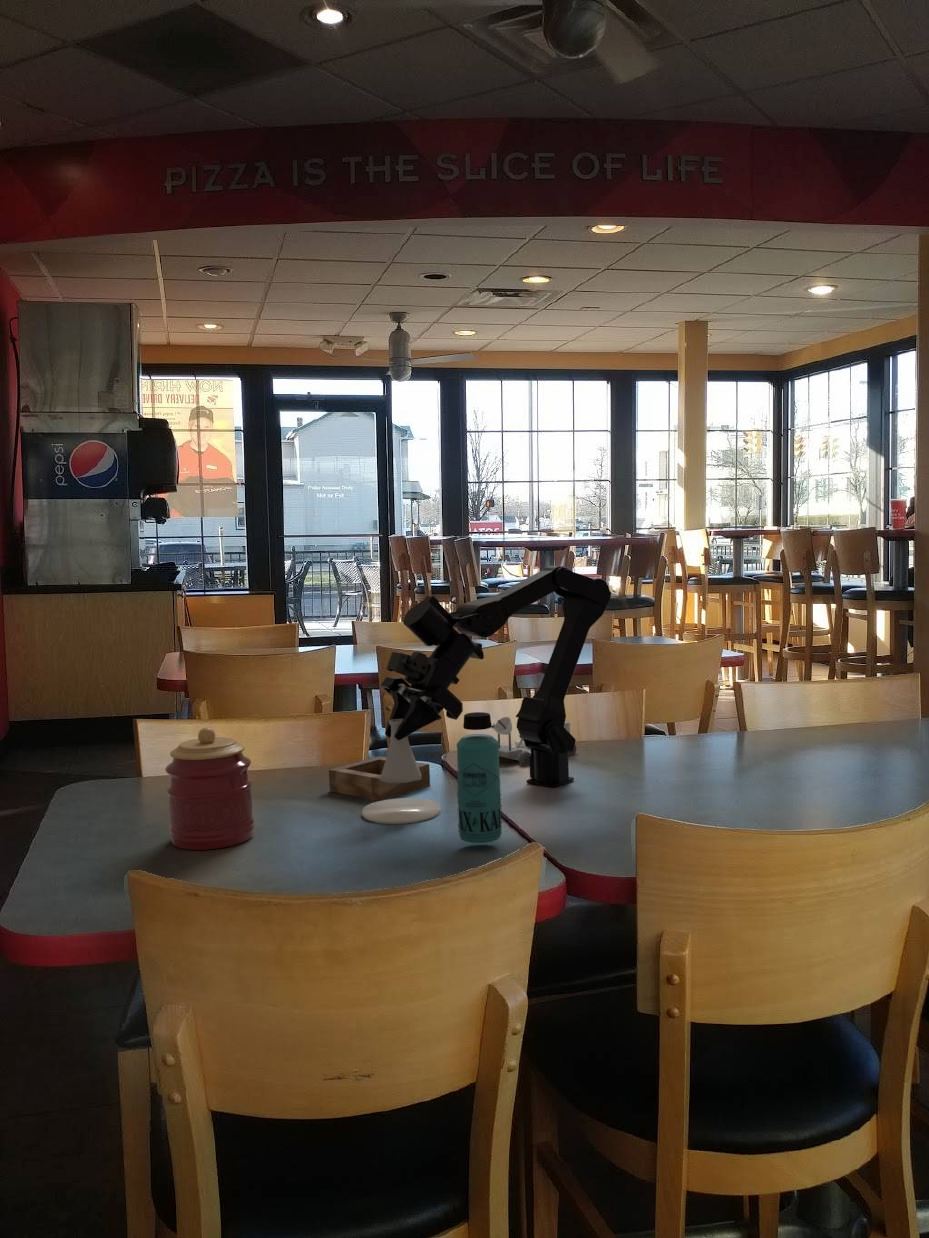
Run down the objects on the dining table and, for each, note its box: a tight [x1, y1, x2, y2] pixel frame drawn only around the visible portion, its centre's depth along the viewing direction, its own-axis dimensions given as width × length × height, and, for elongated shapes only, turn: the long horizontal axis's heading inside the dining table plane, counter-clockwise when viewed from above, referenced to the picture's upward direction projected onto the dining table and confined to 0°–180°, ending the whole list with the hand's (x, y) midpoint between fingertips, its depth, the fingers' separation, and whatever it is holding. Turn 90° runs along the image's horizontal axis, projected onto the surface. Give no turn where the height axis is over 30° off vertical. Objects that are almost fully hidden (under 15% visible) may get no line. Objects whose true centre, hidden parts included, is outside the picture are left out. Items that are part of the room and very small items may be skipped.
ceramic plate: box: [361, 797, 441, 825], centre depth 173 cm, size 13×13×1 cm
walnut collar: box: [328, 755, 431, 802], centre depth 190 cm, size 13×13×4 cm
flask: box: [380, 719, 422, 783], centre depth 172 cm, size 7×7×10 cm
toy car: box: [491, 716, 577, 767], centre depth 212 cm, size 18×10×12 cm
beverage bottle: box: [456, 711, 503, 844], centre depth 152 cm, size 6×7×20 cm
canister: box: [165, 727, 255, 851], centre depth 162 cm, size 13×13×18 cm
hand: (391, 737), depth 172 cm, fingers closed on flask, 3 cm apart
